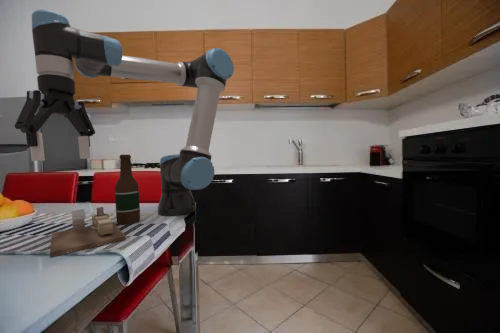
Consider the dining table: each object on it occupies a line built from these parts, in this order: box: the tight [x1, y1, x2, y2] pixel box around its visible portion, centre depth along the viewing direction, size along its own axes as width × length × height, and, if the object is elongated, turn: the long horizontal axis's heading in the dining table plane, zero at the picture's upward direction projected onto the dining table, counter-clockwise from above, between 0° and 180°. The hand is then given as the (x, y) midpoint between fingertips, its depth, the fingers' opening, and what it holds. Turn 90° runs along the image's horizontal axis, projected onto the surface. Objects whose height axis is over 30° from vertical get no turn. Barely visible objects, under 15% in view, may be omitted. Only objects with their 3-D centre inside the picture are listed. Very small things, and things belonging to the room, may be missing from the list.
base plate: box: [49, 221, 126, 258], centre depth 68 cm, size 16×19×1 cm
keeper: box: [71, 209, 97, 231], centre depth 74 cm, size 10×7×6 cm
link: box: [91, 206, 114, 235], centre depth 71 cm, size 14×4×5 cm, turn 39°
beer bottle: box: [114, 154, 141, 226], centre depth 84 cm, size 8×8×24 cm
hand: (64, 159), depth 63 cm, fingers open, 13 cm apart
